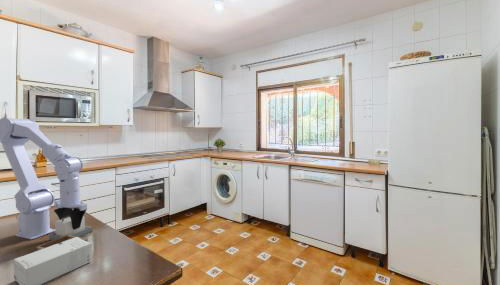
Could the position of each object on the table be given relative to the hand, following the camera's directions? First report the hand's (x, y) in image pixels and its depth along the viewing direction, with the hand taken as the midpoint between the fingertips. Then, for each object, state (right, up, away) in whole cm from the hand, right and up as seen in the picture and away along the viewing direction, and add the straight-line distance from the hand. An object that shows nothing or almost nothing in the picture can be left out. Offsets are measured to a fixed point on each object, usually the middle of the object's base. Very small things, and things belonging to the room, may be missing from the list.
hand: (71, 227), depth 86 cm
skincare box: (+16, -1, -15) cm, 22 cm away
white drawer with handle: (0, -3, 0) cm, 3 cm away
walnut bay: (+6, -4, -11) cm, 13 cm away
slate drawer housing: (0, -3, 0) cm, 3 cm away
